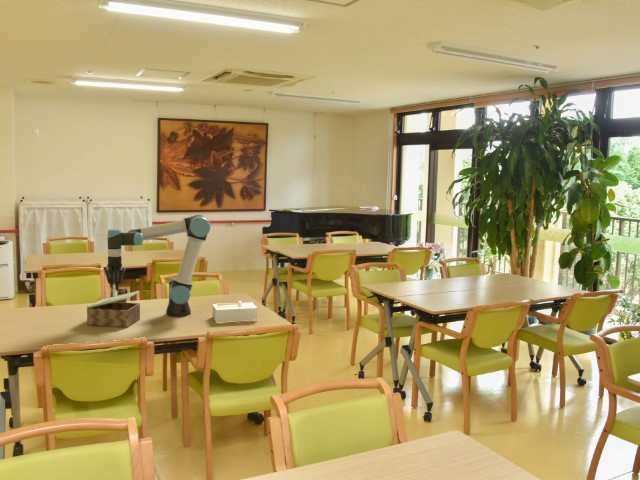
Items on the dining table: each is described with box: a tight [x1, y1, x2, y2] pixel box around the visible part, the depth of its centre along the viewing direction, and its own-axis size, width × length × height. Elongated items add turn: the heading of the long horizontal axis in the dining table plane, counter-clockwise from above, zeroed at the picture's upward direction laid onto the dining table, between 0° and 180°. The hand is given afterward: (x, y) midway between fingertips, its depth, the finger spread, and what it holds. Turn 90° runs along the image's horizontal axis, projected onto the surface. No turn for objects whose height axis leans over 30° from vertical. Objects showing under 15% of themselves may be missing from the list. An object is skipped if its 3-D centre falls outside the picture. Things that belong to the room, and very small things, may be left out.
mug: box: [109, 287, 129, 303], centre depth 366 cm, size 16×11×15 cm
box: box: [86, 302, 141, 329], centre depth 344 cm, size 24×18×10 cm
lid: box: [86, 290, 139, 309], centre depth 343 cm, size 24×18×1 cm
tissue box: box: [212, 300, 258, 322], centre depth 359 cm, size 14×25×11 cm, turn 108°
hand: (115, 295), depth 343 cm, fingers closed
